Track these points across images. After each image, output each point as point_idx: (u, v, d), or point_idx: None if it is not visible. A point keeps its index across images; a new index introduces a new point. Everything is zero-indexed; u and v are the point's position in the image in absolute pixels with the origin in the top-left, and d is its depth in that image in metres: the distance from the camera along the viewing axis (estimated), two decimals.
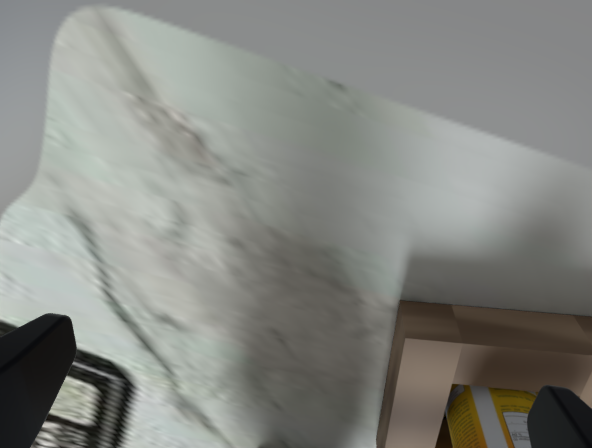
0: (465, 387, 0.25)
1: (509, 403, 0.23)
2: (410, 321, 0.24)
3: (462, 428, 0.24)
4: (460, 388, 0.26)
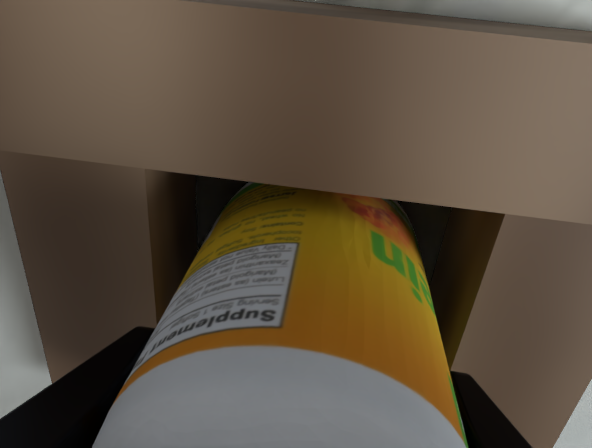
0: None
1: None
2: None
3: None
4: None
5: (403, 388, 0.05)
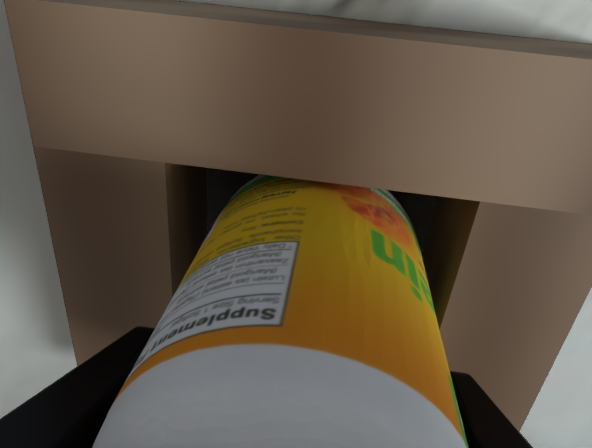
0: None
1: None
2: None
3: None
4: None
5: (402, 386, 0.05)
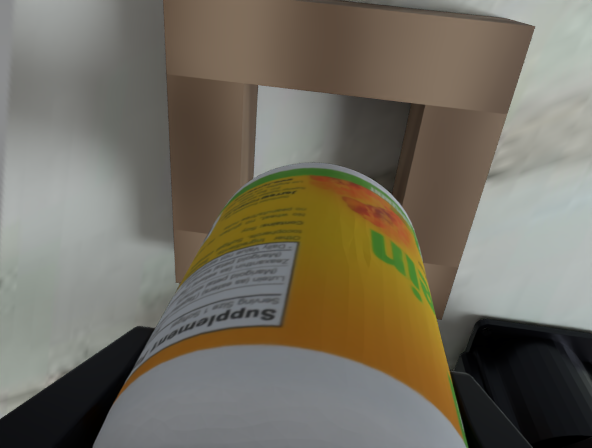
0: None
1: None
2: None
3: None
4: None
5: (402, 387, 0.05)
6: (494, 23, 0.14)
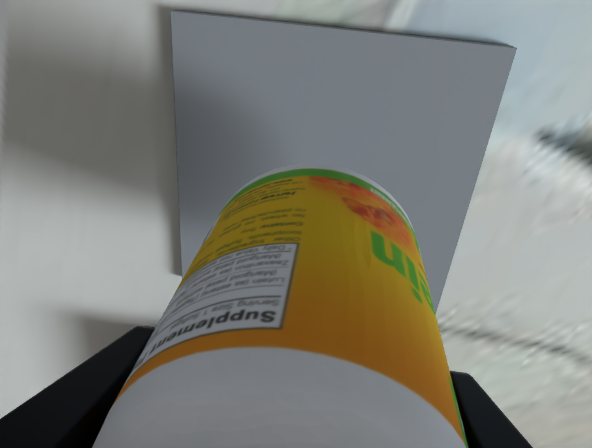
0: None
1: None
2: None
3: None
4: None
5: (403, 389, 0.05)
6: None
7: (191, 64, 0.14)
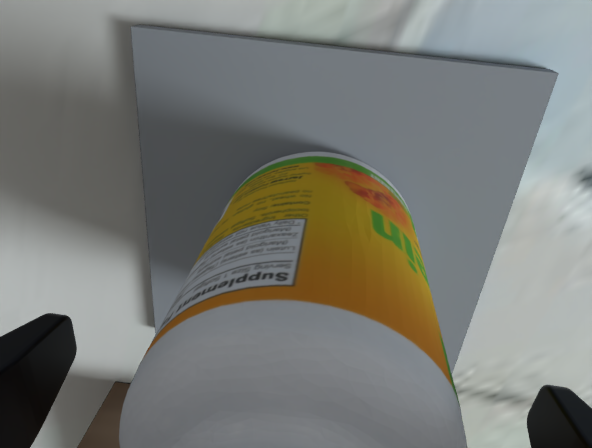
0: None
1: None
2: None
3: None
4: None
5: (398, 337, 0.06)
6: None
7: (158, 90, 0.12)
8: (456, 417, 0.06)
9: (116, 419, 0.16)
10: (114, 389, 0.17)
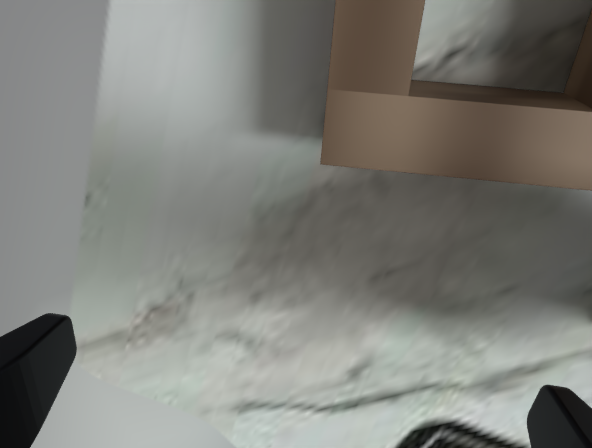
0: None
1: None
2: None
3: None
4: None
5: None
6: None
7: None
8: None
9: None
10: None
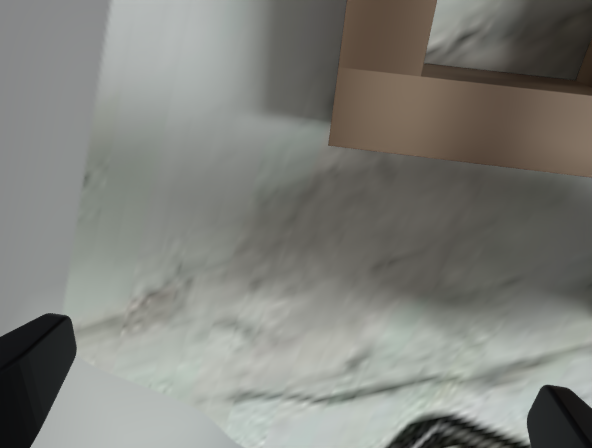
0: None
1: None
2: None
3: None
4: None
5: None
6: None
7: None
8: None
9: None
10: None
